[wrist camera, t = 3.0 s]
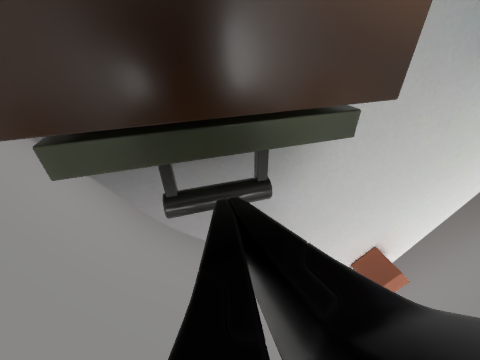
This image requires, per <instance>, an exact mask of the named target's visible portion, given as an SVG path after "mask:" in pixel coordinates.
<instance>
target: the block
mask: <svg viewBox="0 0 480 360" xmlns="http://www.w3.org/2000/svg"><path fill="white" fill-rule="evenodd" d="M351 266H352V267H353V268H354V270H355V271H356V272H358V273H360V274H361V275H363V276H365V277H367V278H369V279H371V280H372V281H374V282H376V283H378V284H380V285H382V286H383V287H385V288H387V289H389V290H391V291H393V292H396V291H397V290H399V289H400V288H401V287H403V286H404V285H406V284H407V283H409V280H408V279H407V278H406V277H405V276H404V275H403V273H402V272H401V271H399V269H397V268H396V267H395V266H394V265H393V264H392V263H391V262H390V261H389V260H388V259H387V258H386V257H385V256H384V255H383V254H382V253H381V252H380V251H379V250H378V249H377V248H376V247H374V248H373V249H372V250H370V251H369V252H368V253H366V254H365V255H364V256H363V257H361V258H360V259H359V260H357V261H356V262H355V263H353V264H352V265H351Z"/></svg>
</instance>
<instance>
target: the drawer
mask: <svg viewBox="0 0 480 360" xmlns="http://www.w3.org/2000/svg"><path fill="white" fill-rule="evenodd" d="M360 112H361V110H360V109H357V108H354V107H351V106H348V105H340V106H330V107H321V108H311V109H302V110H292V111H283V112H273V113H264V114H254V115H245V116H235V117H226V118H216V119H207V120H197V121H188V122H178V123H169V124H159V125H150V126H141V127H131V128H122V129H112V130H103V131H93V132H84V133H74V134H65V135H55V136H46V137H45V138H44V139H42V140H41V141H40V142H38V143H37V144H36V145H34V146H33V150H34V151H35V153H36V155H37V157H38V158H39V160H40V162H41V163H42V165H43V167H44V168H45V170H46V172H47V174H48V175H49V177H50V179H51V180H52V181H55V180H62V179H69V178H76V177H83V176H89V175H96V174H103V173H110V172H117V171H124V170H131V169H138V168H144V167H151V166H158V167H159V171H160V175H161V179H162V183H163V187H164V191H165V193H164V194H163V206H164V211H165V215H166V217H167V218H168V219H169V218H174V217H179V216H184V215H189V214H194V213H199V212H204V211H209V210H214V207H215V203H216V200H218V199H223V198H227V199H228V198H229V197H233V196H239V197H241V198H242V199H244V200H245V201H247V202H248V203H249V202H254V201H259V200H264V199H269V198H271V196H272V185H271V182H270V179H269V178H268V177H267V172H268V153H269V149H275V148H282V147H289V146H296V145H302V144H309V143H316V142H323V141H330V140H337V139H344V138H351V137H354V134H355V131H356V127H357V123H358V120H359V116H360ZM254 151H255V170H254V178H249V179H243V180H237V181H231V182H226V183H220V184H214V185H208V186H203V187H197V188H191V189H185V190H180V191H178V189H177V185H176V180H175V176H174V171H173V166H172V163H179V162H186V161H193V160H199V159H206V158H213V157H220V156H227V155H234V154H241V153H247V152H254Z"/></svg>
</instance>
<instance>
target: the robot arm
mask: <svg viewBox="0 0 480 360" xmlns="http://www.w3.org/2000/svg"><path fill="white" fill-rule="evenodd" d="M254 293H255V294H254ZM255 296H256V298H257V301H258V303H259V305H260V308H261V310H262V313H263V315H264V317H265V320H266V322H267V325H268V327H269V330H270V332H271V334H272V337H273V339H274V342H275V344H276V346H277V348H278V351H279V354H280V356H281V358H282V360H480V318H477V317H472V316H466V315H461V314H456V313H451V312H445V311H440V310H435V309H432V308H429V307H426V306H422V305H420V304H417V303H415V302H413V301H410V300H408V299H406V298H404V297H402V296H400V295H398V294H396V293H394V292H393V291H391V290H389V289H387V288H385V287H383V286H382V285H380V284H378V283H376V282H374V281H372V280H371V279H369V278H367V277H365V276H363V275H361V274H360V273H358V272H356V271H354V270H352V269H351V268H349V267H347V266H345V265H344V264H342V263H340V262H338V261H337V260H335V259H333V258H332V257H330V256H328V255H327V254H325V253H324V252H322V251H321V250H319V249H317V248H316V247H314V246H313V245H311V244H310V243H307V241H305V240H304V239H302V238H301V237H299V236H298V235H296V234H295V233H293V232H292V231H290V230H289V229H287V228H286V227H284V226H283V225H281V224H280V223H278V222H277V221H275V220H274V219H272V218H271V217H269V216H268V215H266V214H265V213H263V212H262V211H260V210H259V209H257V208H256V207H254V206H253V205H251V204H250V203H248V202H247V201H245V200H244V199H242V198H241V197H239V196H233V197H229V198H228V199H227V198H223V199H218V200H216V203H215V207H214V211H213V215H212V219H211V223H210V227H209V231H208V235H207V239H206V243H205V247H204V251H203V255H202V259H201V263H200V267H199V272H198V275H197V279H196V283H195V287H194V290H193V293H192V297H191V300H190V303H189V306H188V309H187V311H186V314H185V317H184V320H183V322H182V325H181V328H180V330H179V333H178V335H177V338H176V340H175V343H174V346H173V348H172V351H171V353H170V356H169V358H168V360H270V358H269V355H268V350H267V346H266V344H265V337H264V333H263V329H262V324H261V321H260V316H259V311H258V308H257V303H256V298H255Z"/></svg>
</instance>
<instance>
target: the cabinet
mask: <svg viewBox="0 0 480 360" xmlns="http://www.w3.org/2000/svg"><path fill="white" fill-rule="evenodd" d="M431 3H432V0H0V141H7V140H17V139H27V138H36V137H46V136H55V135H65V134H74V133H84V132H93V131H103V130H112V129H122V128H131V127H141V126H150V125H159V124H169V123H178V122H188V121H197V120H207V119H216V118H226V117H235V116H245V115H254V114H264V113H273V112H283V111H292V110H302V109H311V108H321V107H330V106H340V105H349V104H359V103H368V102H377V101H387V100H396V99H397V98H398V96H399V93H400V90H401V87H402V85H403V82H404V79H405V76H406V73H407V70H408V68H409V65H410V62H411V59H412V56H413V54H414V51H415V48H416V45H417V42H418V39H419V37H420V34H421V31H422V28H423V25H424V22H425V20H426V17H427V14H428V11H429V8H430V5H431Z"/></svg>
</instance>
